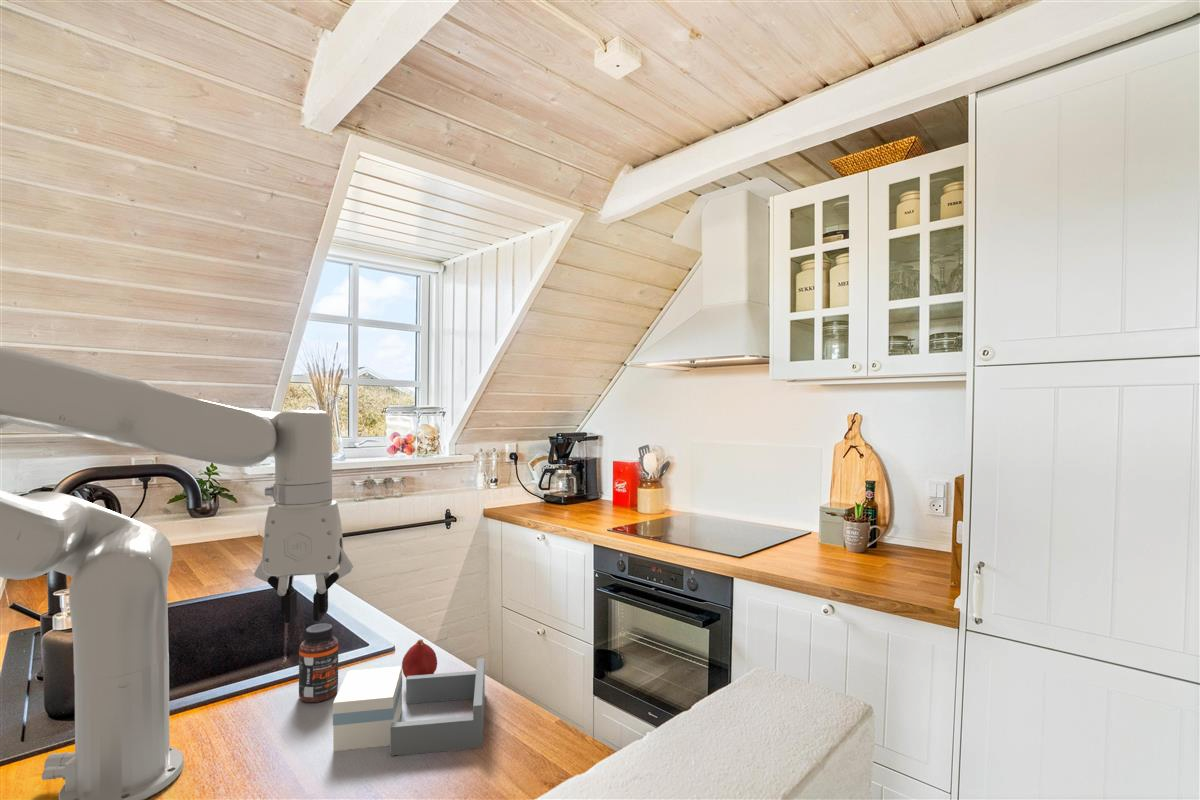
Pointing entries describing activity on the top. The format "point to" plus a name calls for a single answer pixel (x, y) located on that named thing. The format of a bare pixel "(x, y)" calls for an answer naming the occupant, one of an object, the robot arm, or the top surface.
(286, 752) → the top surface
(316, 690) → the supplement bottle
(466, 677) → the bay
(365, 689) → the carton
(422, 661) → the onion
